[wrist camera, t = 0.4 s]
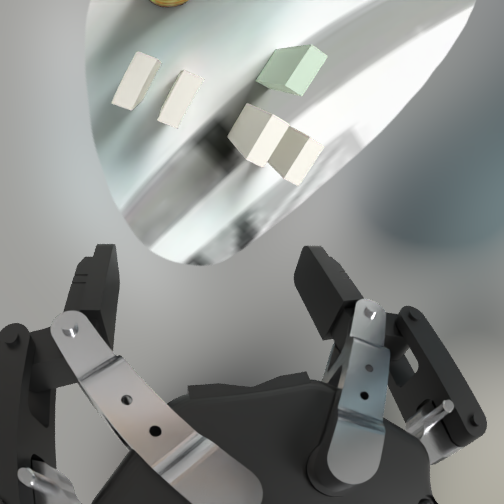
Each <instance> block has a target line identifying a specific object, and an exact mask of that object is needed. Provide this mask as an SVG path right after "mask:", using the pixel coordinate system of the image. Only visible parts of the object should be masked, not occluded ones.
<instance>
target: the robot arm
mask: <svg viewBox="0 0 504 504" xmlns="http://www.w3.org/2000/svg"><path fill="white" fill-rule="evenodd" d="M294 283H295V286H296V288H297V290H298V292H299V294H300V296H301V298H302V300H303V302H304V304H305V306H306V308H307V310H308V312H309V314H310V316H311V318H312V320H313V321H314V323H315V326H316V328H317V330H318V332H319V334H320V336H321V337H322V339H323V340H328V339H334V341H335V342H334V344H333V346H332V349H331V352H330V355H329V359H328V362H327V365H326V369H325V372H324V375H323V378H322V381H317V380H310V379H309V377H308V374H307V372H301V373H295V374H290V375H283V376H279V377H276V378H274V379H272V380H269V381H267V382H265V383H262V384H259V385H257V386H254V387H245V386H236V385H227V384H208V385H207V384H206V385H191V386H188V394H186V395H183V396H180V397H178V398H176V399H174V400H172V401H170V402H169V403H167V404H166V403H165V402H164V401H163V400H162V399H161V398H160V397H159V396H158V395H157V394H156V393H155V392H154V391H153V390H152V389H151V387H150V386H149V385H148V384H147V383H146V382H145V381H144V380H143V379H142V378H141V377H140V376H139V375H138V373H137V372H136V371H135V370H134V369H133V368H132V367H131V366H130V364H129V363H128V362H127V361H126V360H125V359H124V358H123V357H122V356H120V355H119V356H116V355H115V354H114V353H113V344H114V332H115V321H116V312H117V303H118V294H119V285H120V280H119V270H118V262H117V253H116V246H115V244H97V246H96V249H95V252H94V256H93V257H85V258H84V259H83V260H82V261H81V262H80V263H79V264H78V266H77V269H76V272H75V276H74V278H73V281H72V284H71V287H70V291H69V294H68V298H67V301H66V305H65V309H64V312H63V313H61V314H59V315H58V316H57V317H56V318H55V319H54V320H53V322H52V324H51V327H48V328H46V329H42V330H38V331H33V332H29V331H28V329H27V328H26V327H25V326H24V325H22V324H19V323H14V324H10V325H8V326H6V327H5V328H3V329H2V330H1V332H0V504H82V503H81V502H80V501H79V500H78V498H77V496H76V494H75V491H74V487H73V485H72V483H71V481H70V480H69V479H68V478H67V477H66V476H65V475H64V474H63V473H61V472H59V471H58V470H56V454H55V400H56V388H57V387H61V386H65V385H69V384H73V383H78V385H79V386H80V388H81V389H82V391H83V392H84V394H85V395H86V396H87V398H88V399H89V401H90V402H91V403H92V405H93V406H94V408H95V409H96V410H97V412H98V413H99V414H100V416H101V417H102V418H103V420H104V421H105V422H106V424H107V425H108V426H109V428H110V429H111V430H112V432H113V433H114V434H115V435H116V436H117V437H118V439H119V440H120V441H121V442H122V443H123V444H124V446H125V447H126V448H127V449H128V450H129V452H128V454H127V455H126V456H125V458H124V459H123V461H122V462H121V463H120V465H119V466H118V468H117V469H116V470H115V471H114V473H113V474H112V476H111V477H110V478H109V480H108V481H107V482H106V484H105V485H104V486H103V488H102V489H101V490H100V492H99V493H98V494H97V496H96V497H95V498H94V500H93V502H92V504H438V503H437V502H436V501H435V499H434V497H433V495H432V491H431V485H430V465H433V464H436V463H438V462H440V461H442V460H443V459H445V458H447V457H449V456H450V455H452V454H454V453H455V452H457V451H459V450H460V449H462V448H464V447H465V446H467V445H468V444H470V443H471V442H473V441H474V440H476V439H477V438H479V437H480V436H482V435H483V434H484V433H485V430H486V427H487V421H486V417H485V415H484V413H483V411H482V409H481V407H480V405H479V403H478V402H477V400H476V398H475V396H474V394H473V393H472V391H471V389H470V388H469V386H468V384H467V382H466V380H465V379H464V377H463V376H462V374H461V372H460V370H459V369H458V367H457V365H456V364H455V362H454V360H453V359H452V357H451V356H450V354H449V352H448V351H447V349H446V348H445V346H444V345H443V343H442V342H441V340H440V338H439V337H438V336H437V334H436V332H435V331H434V329H433V328H432V327H431V325H430V324H429V322H428V321H427V319H426V318H425V316H424V315H423V314H422V313H421V312H420V311H419V310H418V309H416V308H414V307H411V306H404V307H403V308H402V309H401V310H400V312H399V314H392V313H386V312H385V310H384V309H383V308H382V307H381V305H379V304H378V303H377V302H375V301H373V300H369V299H364V298H363V296H362V295H361V293H360V292H359V291H358V289H357V288H356V286H355V285H354V283H353V282H352V280H351V279H349V276H348V275H347V273H345V271H344V269H343V268H342V266H341V265H340V264H339V263H338V262H337V261H336V260H334V259H333V258H332V257H329V256H328V254H327V253H326V251H325V250H324V249H323V248H322V247H321V246H304V247H303V249H302V251H301V255H300V258H299V261H298V264H297V267H296V270H295V273H294ZM409 347H410V349H411V350H412V352H413V354H414V356H415V357H416V359H417V361H418V364H419V367H418V371H417V372H416V373H414V371H413V369H412V367H411V365H410V364H409V362H408V360H407V358H406V357H405V355H404V354H405V352H406V351H407V350H408V349H409ZM387 385H388V387H389V389H390V391H391V393H392V395H393V397H394V399H395V401H396V403H397V405H398V407H399V410H400V411H401V414H402V416H403V418H404V421H405V423H406V431H405V430H403V429H402V428H400V427H398V426H397V425H395V424H393V423H391V422H390V421H388V420H387V419H385V418H383V414H384V408H385V401H386V393H387Z"/></svg>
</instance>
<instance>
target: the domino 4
mask: <svg viewBox="0 0 504 504" xmlns="http://www.w3.org/2000/svg"><path fill="white" fill-rule="evenodd" d="M327 57H328V56H327V55H325V54H324V53H323V52H321V51H320V50H319V49H317V48H316V47H315V46H313V45H303V46H296V47H288V48H282V49H276V50H275V52H274V53H273V55H272V56H271V58H270V59H269V61H268V62H267V64H266V65H265V67H264V68H263V70H262V72H261V73H260V75H259V76H258V78H257V79H256V81H257V82H258V83H260V84H262V85H264V86H265V87H267V88H269V89H273V90H278V91H282V92H286V93H291V94H295V95H299V96H303V94H304V93H305V91H306V89H307V88H308V86H309V85H310V83H311V82H312V80H313V79H314V77H315V75H316V74H317V72H318V71H319V69H320V68H321V66H322V65H323V63H324V62H325V60H326V59H327Z"/></svg>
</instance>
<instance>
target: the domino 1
mask: <svg viewBox="0 0 504 504" xmlns="http://www.w3.org/2000/svg"><path fill="white" fill-rule="evenodd" d="M161 65H162V63H161V62H160V61H159V60H158V59H157V58H154V57H152V56H149V55H146V54H144V53H141V52H138V51H137V52H136V54H135V55H134V57H133V59H132V61H131V63H130V65H129V67H128V69H127V71H126V73H125V75H124V77H123V79H122V81H121V83H120V85H119V87H118V89H117V91H116V93H115V96H114V98H113V100H112V102H111V103H112V104H114V105H117V106H120V107H123V108H126V109H128V110H133V109H134V108H135V107H136V106H137V105H138V104H139V103H141V102H142V101H143V99H144V97H145V95H146V93H147V91H148V89H149V87H150V85H151V83H152V81H153V79H154V77H155V76H156V74H157V72H158V70H159V68H160V66H161Z"/></svg>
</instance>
